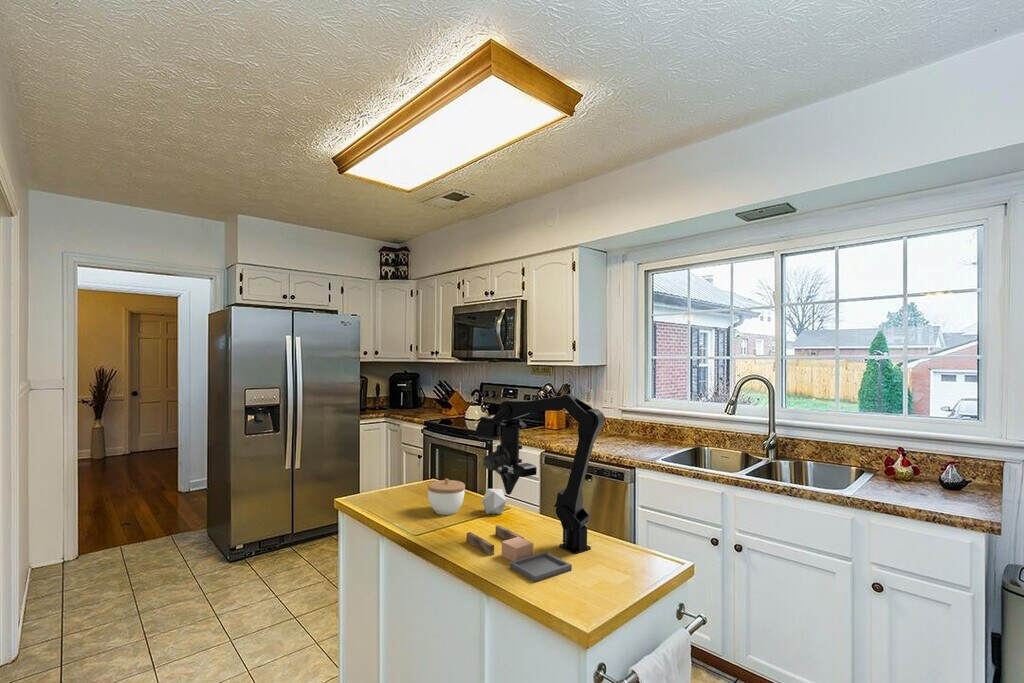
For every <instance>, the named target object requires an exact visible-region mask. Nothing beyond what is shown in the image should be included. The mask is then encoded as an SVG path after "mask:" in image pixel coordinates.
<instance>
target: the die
mask: <svg viewBox="0 0 1024 683" xmlns="http://www.w3.org/2000/svg"><path fill="white" fill-rule="evenodd" d="M481 502H482V505H483V508H484V511H485V513H486V515H502V514H503V512H504V509H505V506H506V504H507V499H506V496H505V493H504V490H503V489H502V488H487V489H486V491H485V494H484V495H483V498H482V501H481Z"/></svg>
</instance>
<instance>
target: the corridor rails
mask: <svg viewBox="0 0 1024 683" xmlns="http://www.w3.org/2000/svg"><path fill="white" fill-rule="evenodd" d="M495 535H496V536H497V537H499V538H502V539H503V540H504V541H506V540H509V539H512V538H516V537H520V538H523V539H525V537H524V536H522V535H520V534H517V533H516V532H514V531H511V530H510V529H508V528H506V527H503V526H501V525H495ZM466 543H468V544H470V545H471V546H473V547H475V548H477V549H478V550H480V551H482V552H483V553H486V554H487V555H489V556H493V555H495V544H493V543H492V542H489V541H487V540H486V539H484V538H482V537H480V536H478V535H477V534H474V533H473V532H471V531H468V532H466Z"/></svg>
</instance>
